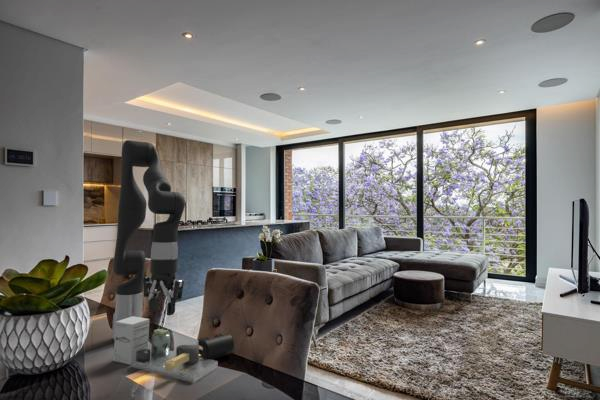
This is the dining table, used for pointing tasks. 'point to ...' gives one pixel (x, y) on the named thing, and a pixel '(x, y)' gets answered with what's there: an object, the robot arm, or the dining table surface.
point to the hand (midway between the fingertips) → (161, 313)
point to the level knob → (184, 357)
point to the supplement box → (130, 338)
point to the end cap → (216, 346)
